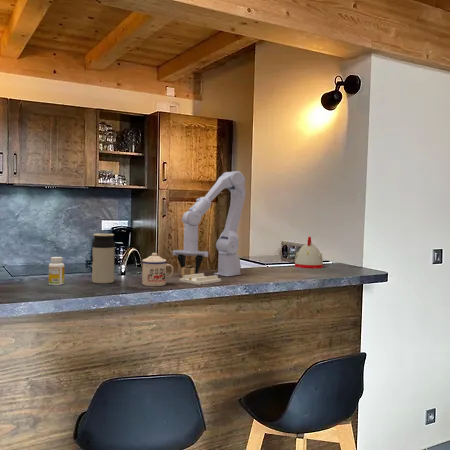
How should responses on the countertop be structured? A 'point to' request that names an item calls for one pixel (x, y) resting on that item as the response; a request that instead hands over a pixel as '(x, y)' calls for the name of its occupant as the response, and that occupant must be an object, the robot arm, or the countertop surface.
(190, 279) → the cream flat piece
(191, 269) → the frame
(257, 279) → the countertop surface
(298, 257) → the kitchen timer
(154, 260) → the teacup with lid
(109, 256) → the travel mug
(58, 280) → the supplement bottle
